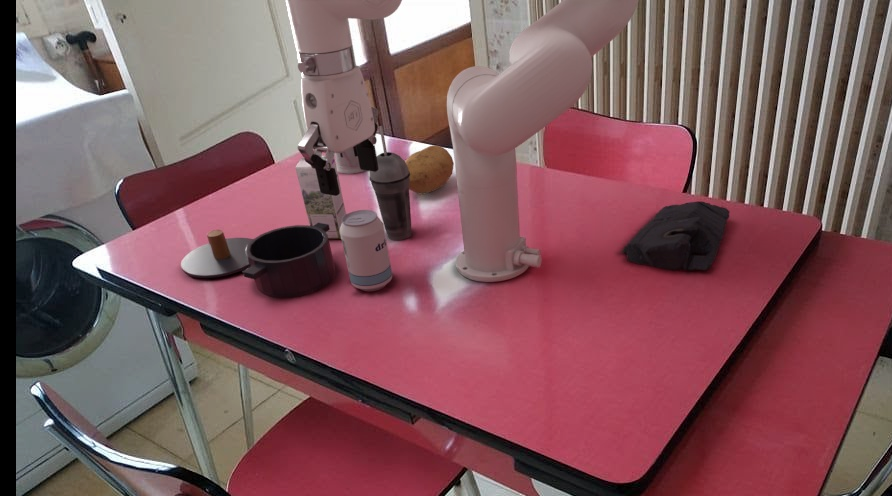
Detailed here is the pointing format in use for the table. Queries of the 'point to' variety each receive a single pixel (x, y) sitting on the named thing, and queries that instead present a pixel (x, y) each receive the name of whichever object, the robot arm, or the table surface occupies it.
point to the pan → (291, 260)
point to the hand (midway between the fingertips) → (350, 181)
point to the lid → (217, 257)
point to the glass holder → (348, 161)
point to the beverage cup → (392, 193)
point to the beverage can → (365, 250)
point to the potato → (429, 169)
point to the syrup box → (320, 199)
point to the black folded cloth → (680, 237)
